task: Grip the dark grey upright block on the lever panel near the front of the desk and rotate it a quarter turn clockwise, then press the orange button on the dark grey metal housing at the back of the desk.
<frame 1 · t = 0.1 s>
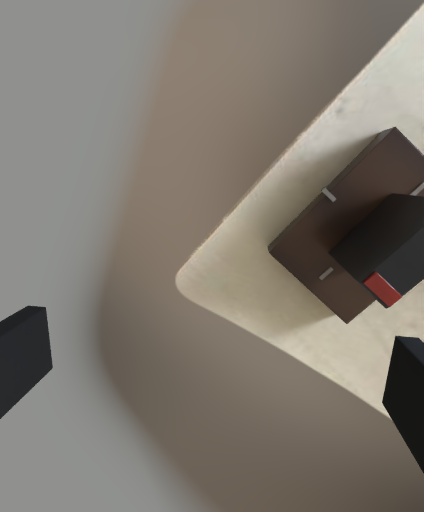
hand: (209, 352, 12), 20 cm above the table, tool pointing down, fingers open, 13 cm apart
dark grey upright block: (390, 243, 22), point 7 cm above the table, hinge at 0.0°
lever panel: (359, 229, 29), on the table
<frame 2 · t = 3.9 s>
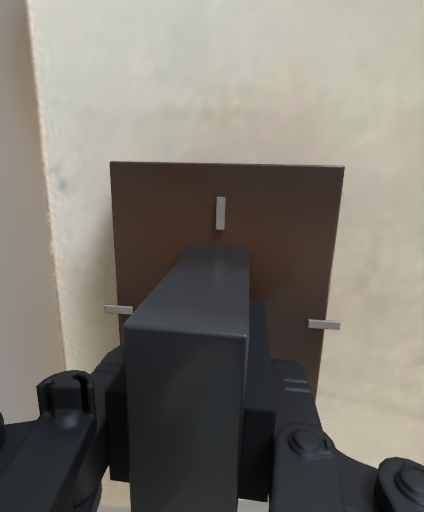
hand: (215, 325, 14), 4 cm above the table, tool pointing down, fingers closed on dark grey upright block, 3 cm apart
dark grey upright block: (205, 367, 11), point 7 cm above the table, hinge at -0.5°, touching gripper
lever panel: (222, 296, 17), on the table
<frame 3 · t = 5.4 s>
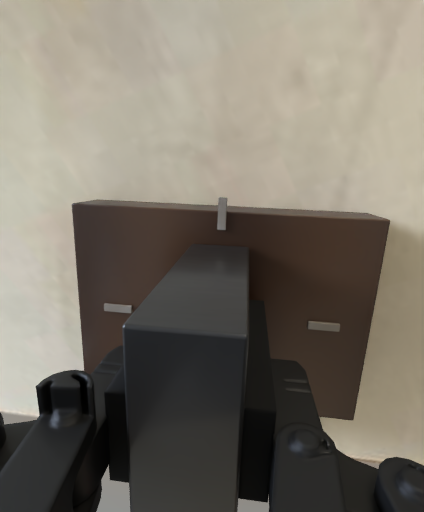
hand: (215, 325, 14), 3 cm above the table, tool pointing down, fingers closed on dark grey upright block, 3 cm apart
dark grey upright block: (205, 368, 11), point 7 cm above the table, hinge at -89.6°, touching gripper
lever panel: (222, 296, 17), on the table
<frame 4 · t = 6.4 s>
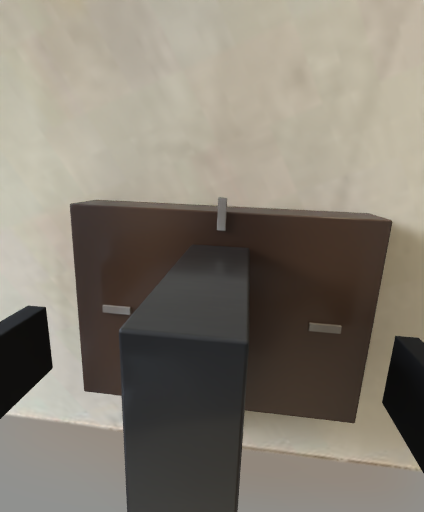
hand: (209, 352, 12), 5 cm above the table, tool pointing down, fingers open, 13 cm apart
dark grey upright block: (204, 371, 11), point 7 cm above the table, hinge at -89.7°
lever panel: (221, 297, 17), on the table
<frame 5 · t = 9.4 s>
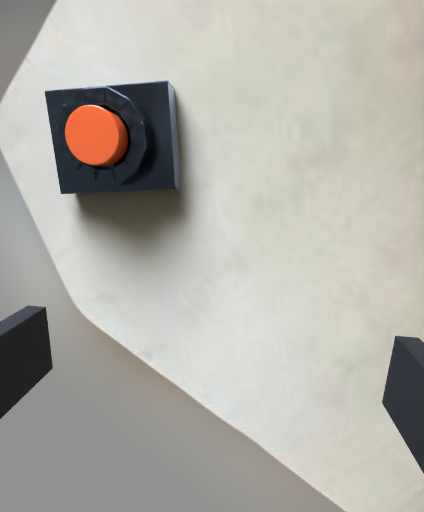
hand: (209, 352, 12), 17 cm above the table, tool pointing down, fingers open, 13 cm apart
button box: (121, 143, 27), on the table
button: (97, 137, 23), point 4 cm above the table, slide at 0.1 cm
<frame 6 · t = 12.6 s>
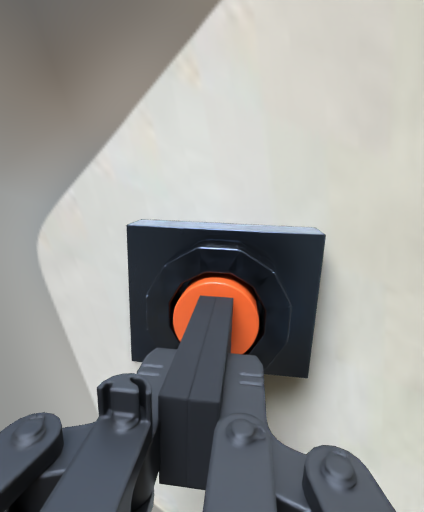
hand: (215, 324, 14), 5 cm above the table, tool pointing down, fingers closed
button box: (223, 289, 18), on the table
button: (217, 315, 15), point 4 cm above the table, slide at -0.7 cm, touching gripper
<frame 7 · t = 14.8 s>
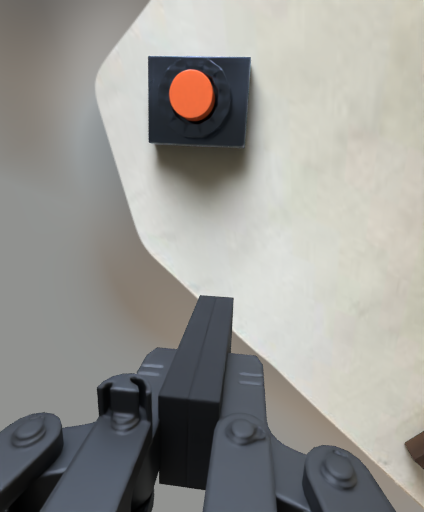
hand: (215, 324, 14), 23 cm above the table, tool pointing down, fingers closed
button box: (200, 106, 33), on the table
button: (192, 96, 29), point 4 cm above the table, slide at 0.1 cm
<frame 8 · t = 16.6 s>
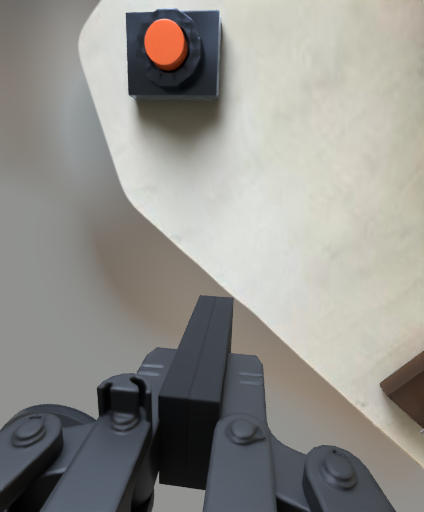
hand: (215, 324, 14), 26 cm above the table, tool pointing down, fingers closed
button box: (176, 61, 35), on the table
button: (166, 45, 31), point 4 cm above the table, slide at 0.1 cm
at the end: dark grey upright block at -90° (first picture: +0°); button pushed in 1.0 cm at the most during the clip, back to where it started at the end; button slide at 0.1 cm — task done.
